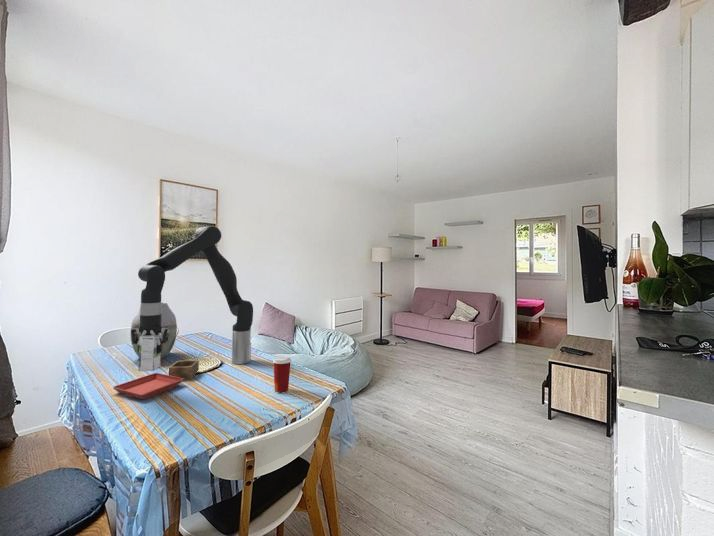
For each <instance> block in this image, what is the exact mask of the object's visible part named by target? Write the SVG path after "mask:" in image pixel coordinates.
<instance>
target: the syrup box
mask: <svg viewBox="0 0 714 536" xmlns="http://www.w3.org/2000/svg"><path fill="white" fill-rule="evenodd" d="M160 335H161V336H162V334H160ZM160 335H157V337H159V336H160ZM157 345H158V344H157V340H156V336H152V335H145V336H140V342H139V357H138V366H137V367H138V369H137V370H138V371H139V372H153V371H155V370H158V369H159V368H160V367H161V361H162V359H161V353H160V354H157Z"/></svg>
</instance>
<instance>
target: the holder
mask: <svg viewBox="0 0 714 536" xmlns="http://www.w3.org/2000/svg"><path fill="white" fill-rule="evenodd" d="M199 363H200V361H199V359H198V360H196V359H195V360H193V359H191V360H189V359H188V360H176V361H175V362H174V363H172V364H171V365H170V366H168V375H170V376H174V377H179V378H183V380H193V378H194V377H195V376H196V375H197V374H196V372H197V371H198V370H199V367H200V366H199ZM198 372H199V371H198ZM195 374H196V375H195Z"/></svg>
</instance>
